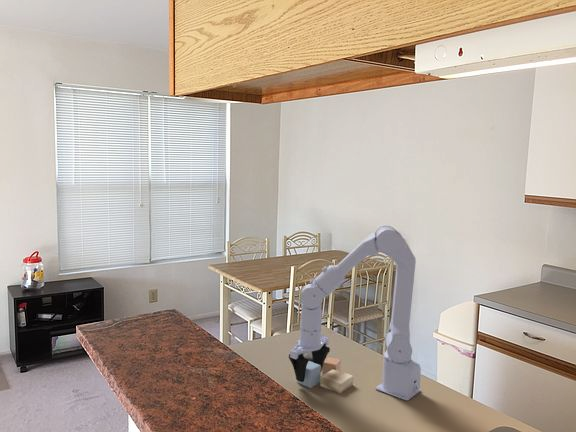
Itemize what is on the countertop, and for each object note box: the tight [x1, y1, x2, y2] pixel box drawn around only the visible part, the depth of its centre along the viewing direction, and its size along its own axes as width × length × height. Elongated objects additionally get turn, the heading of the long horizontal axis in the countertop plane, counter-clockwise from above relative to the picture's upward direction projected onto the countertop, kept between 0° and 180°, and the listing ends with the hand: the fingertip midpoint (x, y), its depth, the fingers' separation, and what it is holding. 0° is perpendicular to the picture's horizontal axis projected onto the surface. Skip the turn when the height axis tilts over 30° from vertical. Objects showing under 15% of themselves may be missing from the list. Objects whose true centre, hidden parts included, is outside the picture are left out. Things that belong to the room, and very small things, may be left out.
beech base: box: [319, 369, 354, 394], centre depth 131 cm, size 6×6×3 cm
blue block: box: [296, 360, 322, 389], centre depth 132 cm, size 4×4×5 cm
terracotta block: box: [321, 356, 341, 376], centre depth 138 cm, size 4×4×4 cm
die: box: [303, 333, 328, 361], centre depth 149 cm, size 8×9×10 cm
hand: (308, 376), depth 133 cm, fingers open, 7 cm apart
